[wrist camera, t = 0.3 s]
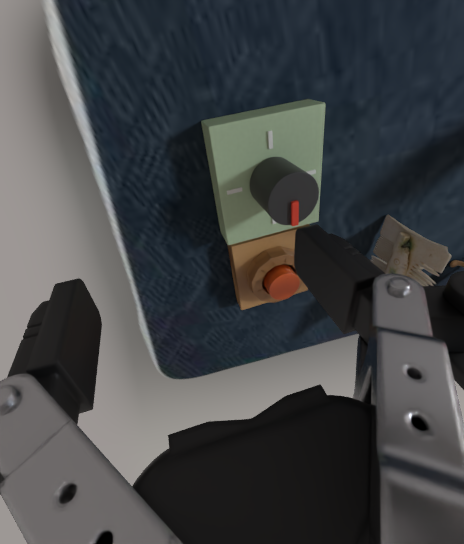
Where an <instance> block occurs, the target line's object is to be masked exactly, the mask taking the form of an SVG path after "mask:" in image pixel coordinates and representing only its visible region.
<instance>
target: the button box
mask: <svg viewBox="0 0 464 544" xmlns="http://www.w3.org/2000/svg"><path fill="white" fill-rule="evenodd" d="M307 226H310V225H309V224H306V225H303V226H299V227H295V228H291V229H288V230H284V231H280V232H277V233H273V234H269V235H265V236H262V237H258V238H254V239H250V240H247V241H243V242H239V243H236V244H232V245H228V251H229V257H230V263H231V269H232V275H233V282H234V288H235V294H236V299H237V301H238V304H239V306H240V308H241V310H244V309H247V308H251V307H254V306H257V305H260V304H264V303H267V302H278V301H281V300H276V299H274V298H272V297H271V296H270V294H269V293H268V291H267V289H266V288H265V286H264V277H265V275H266V273H267V272H268V271H269V270H271V269H272V268H273V267H275V266H278V265H287V266H289V267H291V268H292V270H293V271H294V272H295V274H296V275H297V273H296V270H295V266H294V251H295V233H296V230H297V229H298V228H302V227H307ZM297 276H298V275H297ZM298 278H299V276H298ZM299 280H300V285H299V288H298V290H297V291H296V292H295V293H294V294H297V293H300V292H303V291H307V290H308V288H307V287H306V285H305V284H304V283H303V281H302V280H301V279H300V278H299ZM286 299H287V298H286ZM283 300H284V299H283Z"/></svg>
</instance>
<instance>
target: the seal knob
mask: <svg viewBox="0 0 464 544" xmlns="http://www.w3.org/2000/svg"><path fill="white" fill-rule="evenodd" d="M250 192H251V194H252V196H253V198H254V199H255V200H256V201H257V202H258V204H259V205H260V206H261V207H262V208H263V209H264V210H265V211H266V212H267V213H268V215H269V216H270V217H271V218H272V219H273V220H274V221H275V222H277V223H278V224H281V225H291V226H296V225H299V222H301V221H303V220H304V219H305V218H307V217H308V216H309V215H310V214H311V212H312V211H313V210H314V208H315V206H316V204H317V201H318V198H319V187H318V184H317V182H316V180H315V178H314V177H313V176H311V175H310V174H308V173H307V172H305V171H304V170H302V169H301V168H299V167H297V166H296V165H294V164H293V163H291V162H289V161H288V160H286V159H284V158H282V157H270V158H268V159H265V160H264V161H262V162H261V163H260V164H259V165H258V166H257V167H256V168H255V169H254V171H253V173H252V175H251V178H250Z"/></svg>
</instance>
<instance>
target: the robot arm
mask: <svg viewBox="0 0 464 544" xmlns="http://www.w3.org/2000/svg"><path fill="white" fill-rule="evenodd" d="M294 266H295V270H296V273H297V275H298V276H299V278H300V279H301V280H302V281H303V283H304V284H305V285H306V287H307V288H308V289H309V290H310V292H311V293H312V294H313V295H314V297H315V298H316V299H317V301H318V302H319V303H320V304H321V306H322V307H323V308H324V309H325V311H326V312H327V313H328V315H329V316H330V317H331V318H332V320H333V321H334V322H335V323H336V325H337V326H338V327H339V329H340V330H341V331H342V332H343V334H346V333H349V332H352V331H355V330H356V331H357V332H358V333H359V338H358V347H357V364H356V380H355V389H354V395H353V398H349V397H344V396H334V395H326V393H325V391H324V389H323V388H322V386H321V385H317V386H315V387H312V388H308V389H305V390H302V391H300V392H296V393H293V394H290V395H287V396H285V397H283V398H282V399H281V400H279V401H277V402H276V403H275V404H273V405H272V406H270V407H269V408H267V409H266V410H264V411H263V412H261V413H260V414H258V415H257V416H255V417H253V418H251V419H244V420H228V421H213V422H206V423H203V424H200V425H197V426H194V427H191V428H188V429H185V430H182V431H179V432H176V433H173V434H170V435H168V437H169V449H167V450H166V451H164V452H163V453H162V454H160V455H159V456H158V457H157V458H156V459H154V460H153V461H152V462H151V463H150V464H149V465H148V467H147V468H146V469H145V470H144V471H143V472H142V473H141V475H140V476H139V477H138V478H137V480H136V481H135V483H134V485H133V486H131V485H130V484H129V483H128V482H127V480H126V479H125V478H124V477H123V476H122V475H121V474H120V473H119V472H118V470H117V469H116V468H115V467H114V466H113V465H112V464H111V463H110V461H109V460H108V459H107V458H106V457H105V456H104V455H103V454H102V453H101V452H100V450H99V449H98V448H97V447H96V446H95V445H94V444H93V443H92V441H91V440H90V439H89V438H88V437H87V436H86V435H85V434H84V432H83V431H82V430H81V429H80V428H79V427H78V426H77V423H78V416H79V413H83V412H86V411H89V410H92V409H93V403H94V392H95V384H96V375H97V365H98V356H99V346H100V336H101V327H102V323H101V317H100V314H99V311H98V309H97V307H96V305H95V303H94V301H93V299H92V298H91V296H90V293H89V292H88V290H87V288H86V286H85V284H84V282H83V281H82V280H81V279H75V280H70V281H66V282H62V283H57V284H55V286H54V288H53V291H52V294H51V297H50V300H49V301H45V302H42V303H41V304H40V305H39V307H38V308H37V309H36V310H35V311H34V312H33V313H32V315H31V318H30V320H29V323H28V325H27V329H26V330H25V333H24V336H23V340H22V341H21V343H20V346H19V348H18V351H17V353H16V356H15V359H14V361H13V364H12V367H11V369H10V371H9V374H8V377H7V378H6V379H4V380H2V381H0V495H1V496H2V498H3V499H4V501H5V503H6V505H7V506H8V509H9V511H10V512H11V514H12V516H13V518H14V520H15V522H16V523H17V525H18V527H19V529H20V531H21V533H22V534H23V536H24V538H25V540H26V542H27V544H464V422H463V418H462V413H461V409H460V404H459V399H458V395H457V391H456V386H455V382H454V380H455V381H456V382H457V383H458V384H459V385H460V386H461V387H462V388H463V389H464V271H461V272H457V273H454V274H452V275H451V276H450V278H449V280H448V283H447V285H446V286H422V285H421V284H420V283H419V282H417V281H416V280H414V279H412V278H410V277H408V276H405V275H401V274H395V273H388V274H386V273H384V272H383V271H382V270H381V269H380V268H378V267H377V266H376V265H375V264H373V263H372V262H371V261H370V260H369V259H367V258H366V257H365V256H364V255H363V254H360V252H359V251H358V250H357V249H355V248H353V247H352V245H351V244H349V243H348V242H347V241H346V240H345V239H343V238H341V237H338V236H336V235H333V234H328V233H327V232H325V231H324V230H323V229H322V228H321V227H320V226H318V225H316V224H315V225H311V226H307V227H302V228H298V229H297V230H296V233H295V251H294Z"/></svg>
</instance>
